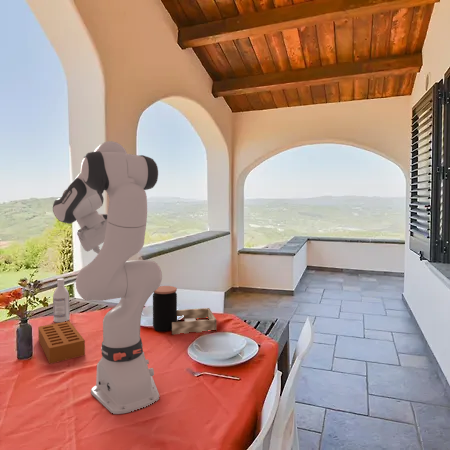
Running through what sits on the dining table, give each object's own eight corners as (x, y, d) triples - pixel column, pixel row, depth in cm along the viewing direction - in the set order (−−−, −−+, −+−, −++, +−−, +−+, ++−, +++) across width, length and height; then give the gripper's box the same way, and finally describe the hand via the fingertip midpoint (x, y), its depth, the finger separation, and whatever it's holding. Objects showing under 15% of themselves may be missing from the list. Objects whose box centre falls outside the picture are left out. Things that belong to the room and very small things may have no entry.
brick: (85, 355, 128) (84, 340, 127) (49, 364, 120) (49, 348, 120) (69, 334, 148) (69, 320, 147) (38, 341, 140) (37, 326, 140)
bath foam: (61, 317, 168) (60, 276, 166) (72, 318, 165) (72, 278, 164) (50, 321, 161) (49, 280, 160) (61, 323, 159) (60, 281, 157)
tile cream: (185, 326, 158) (185, 322, 158) (184, 322, 163) (184, 318, 163) (196, 325, 159) (196, 321, 159) (194, 322, 164) (194, 317, 164)
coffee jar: (179, 324, 160) (179, 286, 159) (173, 332, 149) (173, 292, 148) (157, 323, 161) (156, 285, 160) (149, 331, 150) (149, 291, 149)
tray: (172, 334, 148) (172, 323, 147) (169, 320, 164) (169, 310, 164) (216, 330, 152) (216, 319, 152) (209, 317, 169) (209, 307, 168)
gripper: (81, 227, 130) (100, 258, 132) (110, 213, 149) (127, 240, 151) (69, 234, 132) (89, 264, 134) (99, 219, 151) (116, 246, 153)
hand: (109, 251), depth 143 cm, fingers open, 8 cm apart
